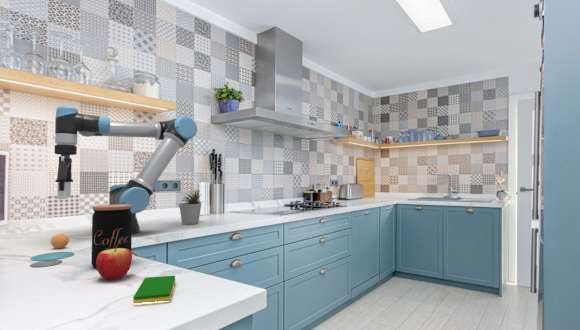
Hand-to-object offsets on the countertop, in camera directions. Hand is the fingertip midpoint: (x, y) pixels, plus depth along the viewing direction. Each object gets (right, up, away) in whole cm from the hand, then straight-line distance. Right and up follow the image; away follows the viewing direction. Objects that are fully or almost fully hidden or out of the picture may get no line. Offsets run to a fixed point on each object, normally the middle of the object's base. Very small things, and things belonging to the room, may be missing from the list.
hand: (64, 198), depth 134 cm
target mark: (+11, -17, -22) cm, 30 cm away
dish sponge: (+61, -16, -58) cm, 86 cm away
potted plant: (+35, -21, +56) cm, 69 cm away
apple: (+46, -16, -47) cm, 67 cm away
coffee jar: (+38, -17, -34) cm, 53 cm away
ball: (+5, -15, -9) cm, 18 cm away
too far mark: (+16, -17, -32) cm, 39 cm away
